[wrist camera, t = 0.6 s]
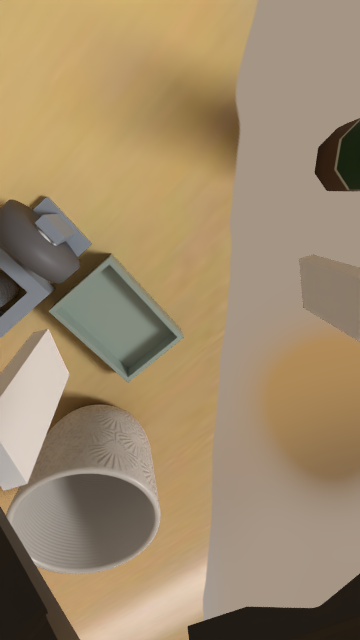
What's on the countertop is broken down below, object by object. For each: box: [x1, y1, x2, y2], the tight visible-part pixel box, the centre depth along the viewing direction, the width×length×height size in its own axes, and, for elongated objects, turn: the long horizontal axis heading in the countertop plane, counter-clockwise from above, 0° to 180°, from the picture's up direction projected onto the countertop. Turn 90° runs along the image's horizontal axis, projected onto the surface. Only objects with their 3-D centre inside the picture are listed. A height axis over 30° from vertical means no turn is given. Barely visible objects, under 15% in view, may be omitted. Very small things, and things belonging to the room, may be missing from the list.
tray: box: [49, 254, 184, 382], centre depth 40 cm, size 14×10×3 cm
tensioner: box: [0, 197, 92, 338], centre depth 32 cm, size 9×17×10 cm, turn 129°
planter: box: [6, 405, 160, 574], centre depth 40 cm, size 17×17×15 cm
